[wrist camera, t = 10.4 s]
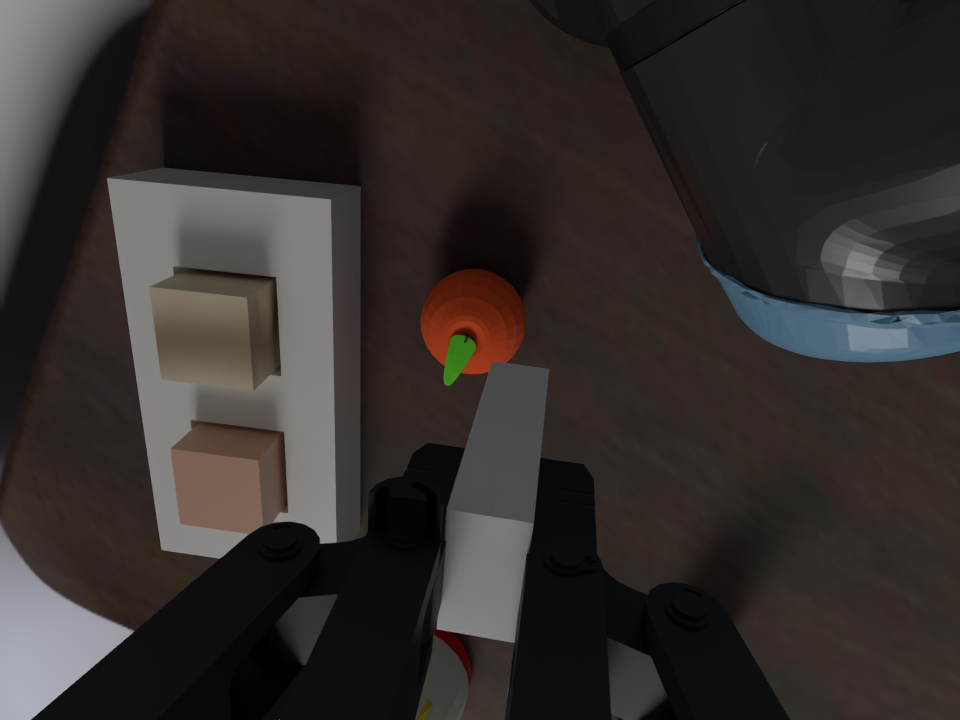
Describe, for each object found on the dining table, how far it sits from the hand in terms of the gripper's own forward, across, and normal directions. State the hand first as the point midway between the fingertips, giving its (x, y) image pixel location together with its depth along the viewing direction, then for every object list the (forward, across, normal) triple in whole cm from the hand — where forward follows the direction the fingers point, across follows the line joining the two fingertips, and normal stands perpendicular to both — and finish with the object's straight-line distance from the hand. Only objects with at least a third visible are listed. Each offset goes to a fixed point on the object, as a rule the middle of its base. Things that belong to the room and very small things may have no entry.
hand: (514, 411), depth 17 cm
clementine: (+28, -4, -7) cm, 29 cm away
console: (+28, -20, -13) cm, 36 cm away
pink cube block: (+24, -20, -19) cm, 36 cm away
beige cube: (+24, -20, -8) cm, 32 cm away
